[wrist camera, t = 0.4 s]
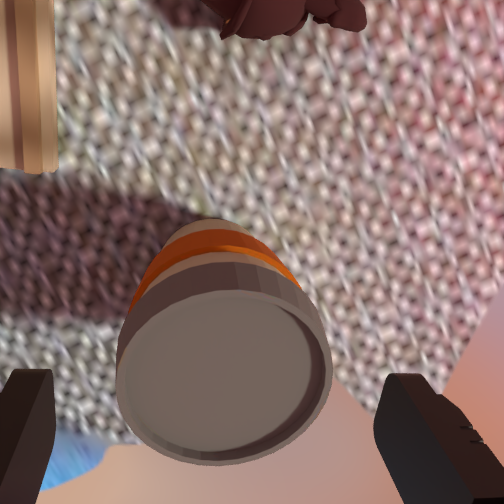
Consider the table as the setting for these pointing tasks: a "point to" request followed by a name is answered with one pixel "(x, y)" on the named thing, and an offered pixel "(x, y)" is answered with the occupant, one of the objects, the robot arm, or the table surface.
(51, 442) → the robot arm
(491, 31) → the table surface
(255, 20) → the icecream
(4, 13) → the board
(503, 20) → the table surface
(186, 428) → the reusable coffee cup
